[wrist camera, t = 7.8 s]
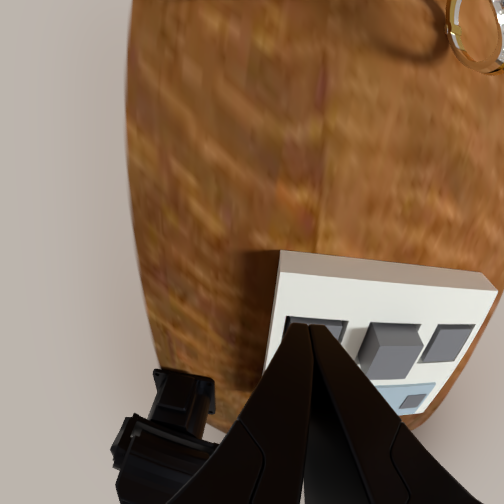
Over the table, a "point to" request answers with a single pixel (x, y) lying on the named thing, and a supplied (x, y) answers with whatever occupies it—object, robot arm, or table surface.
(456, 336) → the button right
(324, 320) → the button left
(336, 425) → the robot arm
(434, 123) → the table surface
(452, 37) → the ring
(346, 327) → the button board
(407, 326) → the button middle
